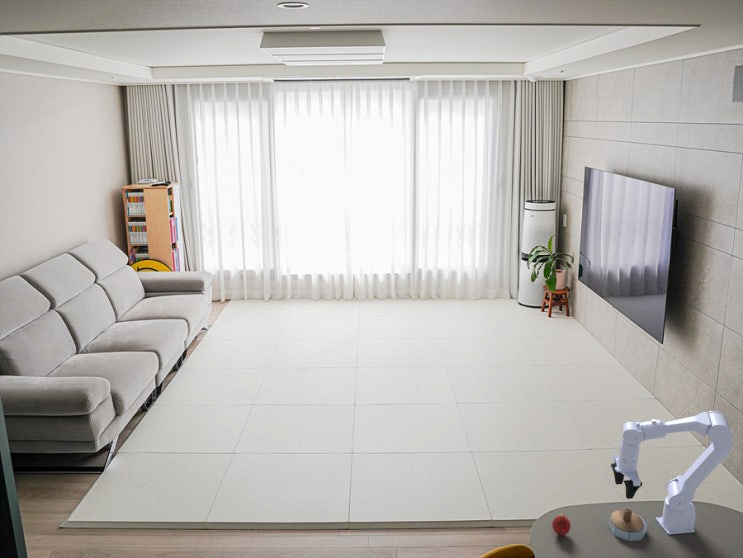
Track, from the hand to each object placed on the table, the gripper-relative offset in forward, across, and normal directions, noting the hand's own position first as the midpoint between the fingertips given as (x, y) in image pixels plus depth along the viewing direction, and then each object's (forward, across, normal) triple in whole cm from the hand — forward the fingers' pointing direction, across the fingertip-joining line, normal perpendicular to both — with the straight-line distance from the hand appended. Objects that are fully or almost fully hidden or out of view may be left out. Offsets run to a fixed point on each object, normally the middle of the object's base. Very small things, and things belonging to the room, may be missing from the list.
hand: (624, 490), depth 220 cm
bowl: (+10, +6, -1) cm, 12 cm away
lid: (+7, +6, -2) cm, 10 cm away
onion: (+11, +6, -24) cm, 27 cm away
